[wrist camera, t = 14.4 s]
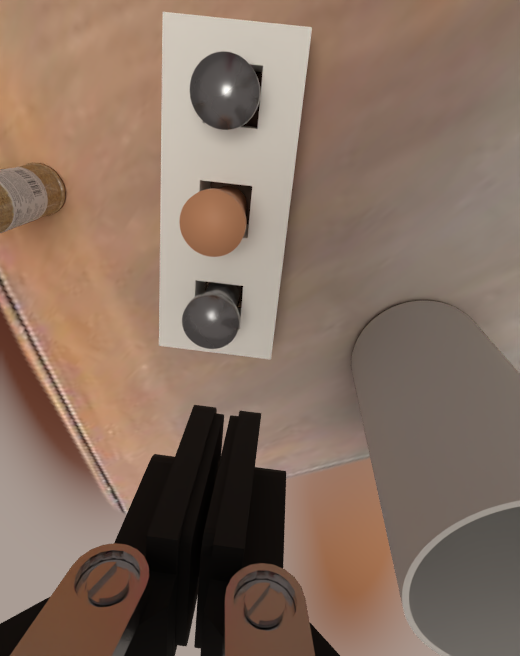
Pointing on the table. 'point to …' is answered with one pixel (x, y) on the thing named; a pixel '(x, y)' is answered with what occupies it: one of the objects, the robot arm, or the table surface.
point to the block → (229, 171)
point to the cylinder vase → (446, 473)
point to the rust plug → (214, 220)
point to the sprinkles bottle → (28, 194)
